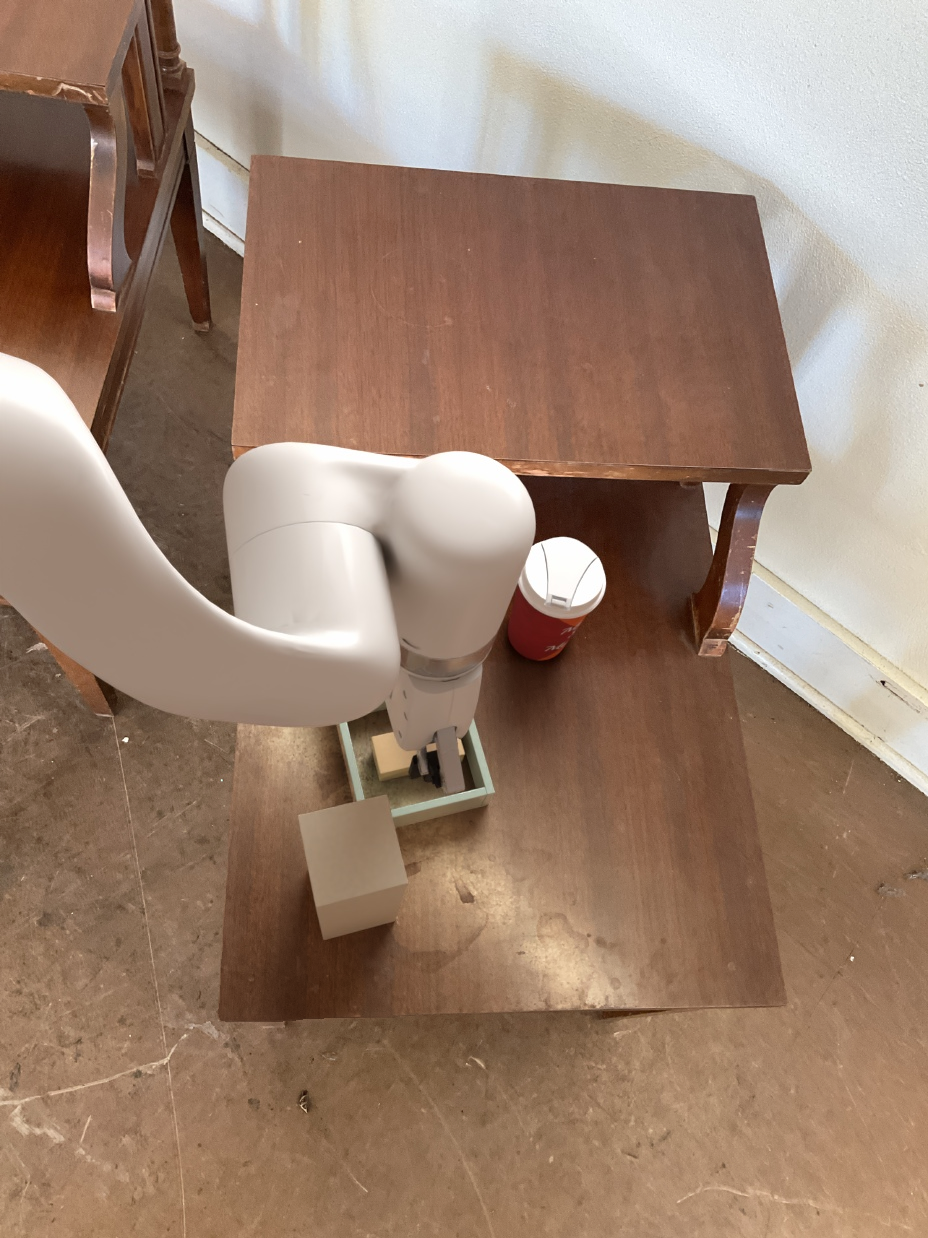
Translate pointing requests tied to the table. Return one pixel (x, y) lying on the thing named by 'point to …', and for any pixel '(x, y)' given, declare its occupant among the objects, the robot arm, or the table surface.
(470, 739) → the divided tray
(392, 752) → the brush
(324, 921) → the block
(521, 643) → the paper cup
